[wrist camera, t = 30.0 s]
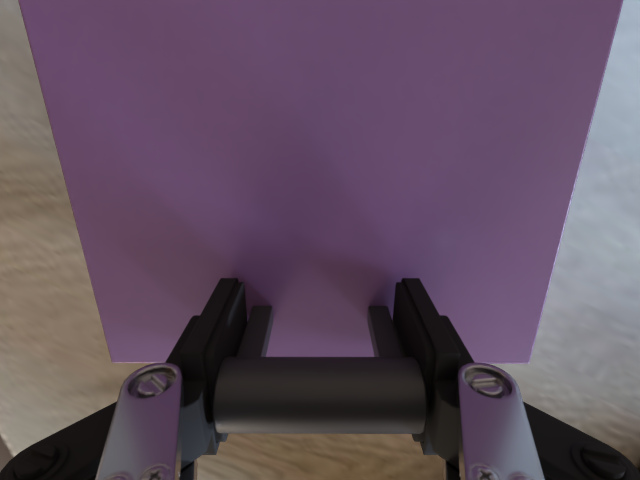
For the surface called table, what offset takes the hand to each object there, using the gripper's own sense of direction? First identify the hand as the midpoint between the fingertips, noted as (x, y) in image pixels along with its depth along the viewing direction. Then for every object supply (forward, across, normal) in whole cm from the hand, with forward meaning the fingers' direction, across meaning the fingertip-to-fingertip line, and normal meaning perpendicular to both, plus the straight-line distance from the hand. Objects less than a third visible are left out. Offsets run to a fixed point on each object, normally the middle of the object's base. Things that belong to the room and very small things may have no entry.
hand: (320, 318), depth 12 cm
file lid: (+1, 0, +7) cm, 7 cm away
